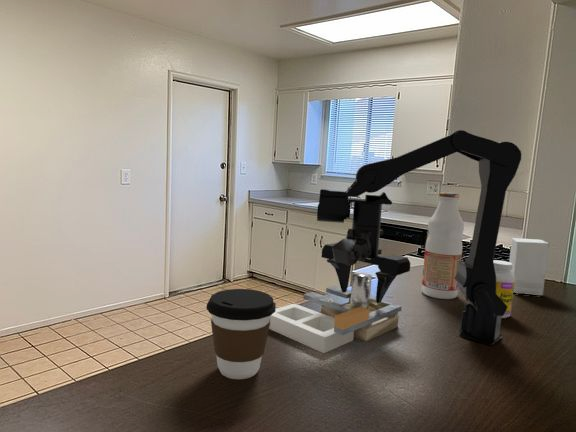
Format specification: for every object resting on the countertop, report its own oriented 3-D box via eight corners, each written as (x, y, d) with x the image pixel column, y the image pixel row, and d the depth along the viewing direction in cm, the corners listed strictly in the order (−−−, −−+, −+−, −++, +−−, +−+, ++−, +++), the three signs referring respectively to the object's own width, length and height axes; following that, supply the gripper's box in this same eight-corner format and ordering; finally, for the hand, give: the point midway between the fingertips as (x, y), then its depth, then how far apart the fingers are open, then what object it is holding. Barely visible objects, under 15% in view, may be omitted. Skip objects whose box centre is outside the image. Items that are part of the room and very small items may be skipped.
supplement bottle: (497, 320, 98) (503, 266, 97) (474, 310, 104) (479, 259, 102) (516, 317, 101) (523, 264, 99) (493, 308, 107) (499, 258, 105)
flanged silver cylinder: (381, 326, 91) (385, 276, 89) (362, 334, 86) (366, 281, 84) (354, 316, 95) (358, 269, 94) (335, 323, 90) (338, 273, 89)
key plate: (401, 310, 89) (402, 297, 89) (342, 335, 75) (344, 319, 74) (333, 289, 102) (334, 277, 101) (272, 307, 87) (273, 293, 87)
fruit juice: (432, 300, 111) (443, 193, 107) (414, 289, 120) (424, 190, 116) (464, 299, 113) (476, 194, 109) (444, 289, 122) (454, 192, 118)
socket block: (397, 326, 91) (399, 309, 90) (366, 341, 82) (367, 322, 82) (351, 311, 99) (352, 295, 98) (318, 323, 90) (319, 305, 90)
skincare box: (535, 291, 125) (542, 239, 123) (543, 298, 118) (551, 243, 116) (504, 288, 127) (511, 236, 125) (511, 294, 120) (517, 240, 118)
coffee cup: (244, 396, 61) (248, 315, 59) (189, 372, 66) (191, 298, 65) (285, 367, 70) (289, 297, 69) (234, 349, 76) (236, 283, 74)
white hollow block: (353, 340, 82) (354, 325, 82) (323, 353, 76) (324, 337, 76) (293, 316, 93) (294, 303, 93) (263, 326, 87) (264, 312, 87)
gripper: (306, 221, 88) (302, 293, 90) (384, 234, 76) (377, 318, 78) (339, 218, 96) (334, 284, 98) (414, 230, 84) (407, 306, 86)
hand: (360, 297), depth 90 cm, fingers open, 8 cm apart
